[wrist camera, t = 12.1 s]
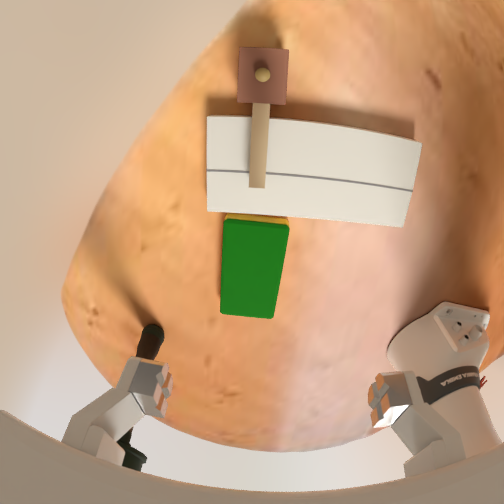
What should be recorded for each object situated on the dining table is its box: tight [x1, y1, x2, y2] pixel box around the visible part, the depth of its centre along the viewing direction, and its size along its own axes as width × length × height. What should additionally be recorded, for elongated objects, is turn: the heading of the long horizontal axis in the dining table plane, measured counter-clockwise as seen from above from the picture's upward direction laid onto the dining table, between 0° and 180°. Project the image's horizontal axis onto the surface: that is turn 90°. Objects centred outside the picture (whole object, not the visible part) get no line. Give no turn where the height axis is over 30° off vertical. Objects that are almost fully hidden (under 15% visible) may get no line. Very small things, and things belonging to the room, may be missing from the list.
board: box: [207, 115, 422, 228], centre depth 28 cm, size 22×10×2 cm, turn 87°
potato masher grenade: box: [116, 325, 164, 472], centre depth 31 cm, size 8×9×30 cm
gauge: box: [237, 47, 289, 189], centre depth 24 cm, size 4×13×6 cm, turn 177°
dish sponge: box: [220, 213, 289, 319], centre depth 35 cm, size 7×14×2 cm, turn 175°
